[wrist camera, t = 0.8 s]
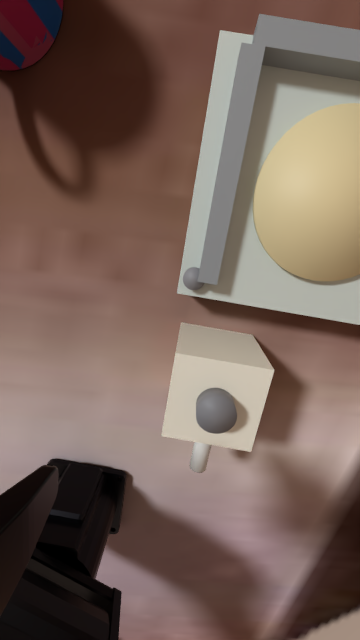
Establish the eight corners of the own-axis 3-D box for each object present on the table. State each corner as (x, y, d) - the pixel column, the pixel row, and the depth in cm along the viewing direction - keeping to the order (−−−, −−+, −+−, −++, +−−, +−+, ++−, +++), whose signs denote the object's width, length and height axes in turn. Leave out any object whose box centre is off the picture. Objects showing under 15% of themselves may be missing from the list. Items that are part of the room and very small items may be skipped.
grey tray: (389, 321, 18) (441, 343, 14) (179, 285, 18) (175, 297, 14) (472, 111, 15) (570, 64, 11) (215, 68, 15) (222, 7, 11)
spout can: (229, 425, 21) (243, 503, 15) (165, 414, 21) (152, 487, 15) (252, 334, 19) (280, 379, 13) (181, 322, 19) (174, 361, 13)
